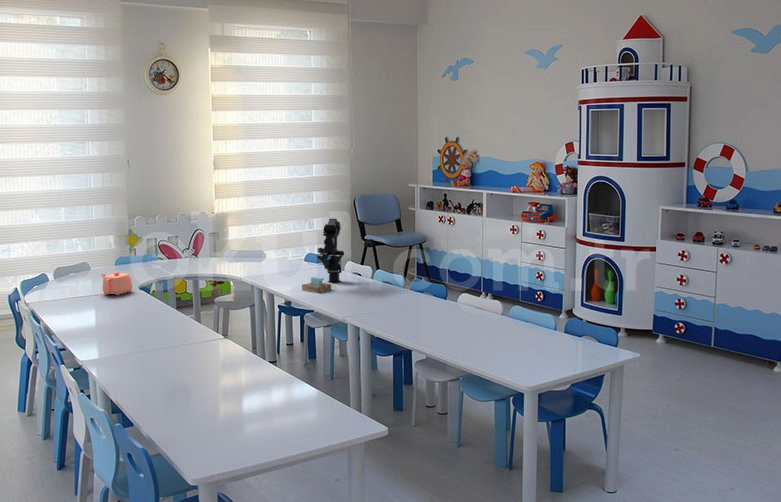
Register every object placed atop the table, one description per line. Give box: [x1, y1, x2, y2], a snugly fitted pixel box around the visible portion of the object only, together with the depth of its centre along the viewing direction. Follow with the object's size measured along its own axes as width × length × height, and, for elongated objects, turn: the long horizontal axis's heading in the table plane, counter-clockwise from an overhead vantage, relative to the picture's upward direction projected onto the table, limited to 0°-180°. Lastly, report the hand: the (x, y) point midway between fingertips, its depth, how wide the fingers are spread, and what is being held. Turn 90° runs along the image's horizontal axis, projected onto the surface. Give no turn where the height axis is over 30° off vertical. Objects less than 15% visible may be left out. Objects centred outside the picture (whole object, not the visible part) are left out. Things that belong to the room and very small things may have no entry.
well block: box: [301, 282, 332, 294], centre depth 486 cm, size 12×14×4 cm
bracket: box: [310, 276, 325, 286], centre depth 485 cm, size 3×9×8 cm, turn 49°
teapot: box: [99, 271, 133, 296], centre depth 487 cm, size 20×19×14 cm
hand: (331, 268), depth 491 cm, fingers open, 9 cm apart
